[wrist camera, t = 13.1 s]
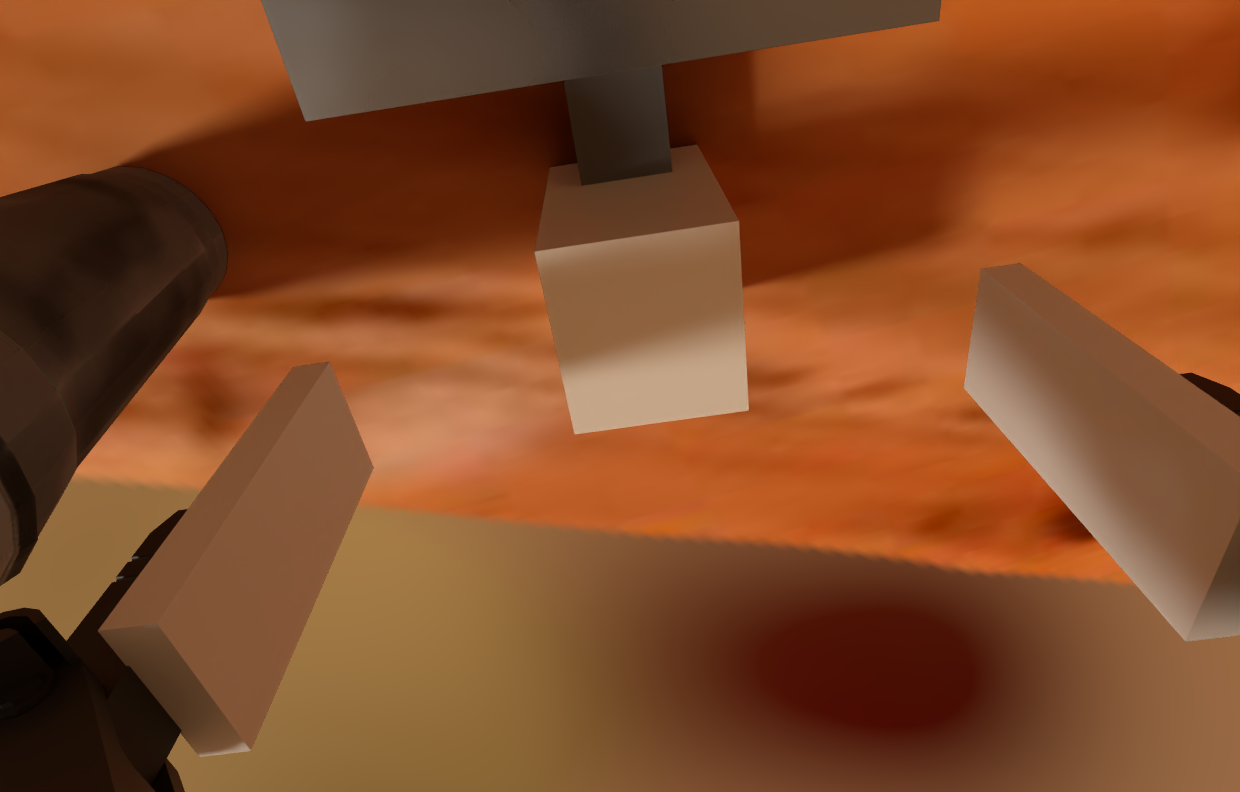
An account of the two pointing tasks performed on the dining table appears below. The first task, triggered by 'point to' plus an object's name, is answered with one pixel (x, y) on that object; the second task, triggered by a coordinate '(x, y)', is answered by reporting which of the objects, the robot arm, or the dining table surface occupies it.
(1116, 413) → the robot arm
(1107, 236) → the dining table surface
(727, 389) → the beige and grey hammer
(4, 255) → the beverage cup
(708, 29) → the grey slab
